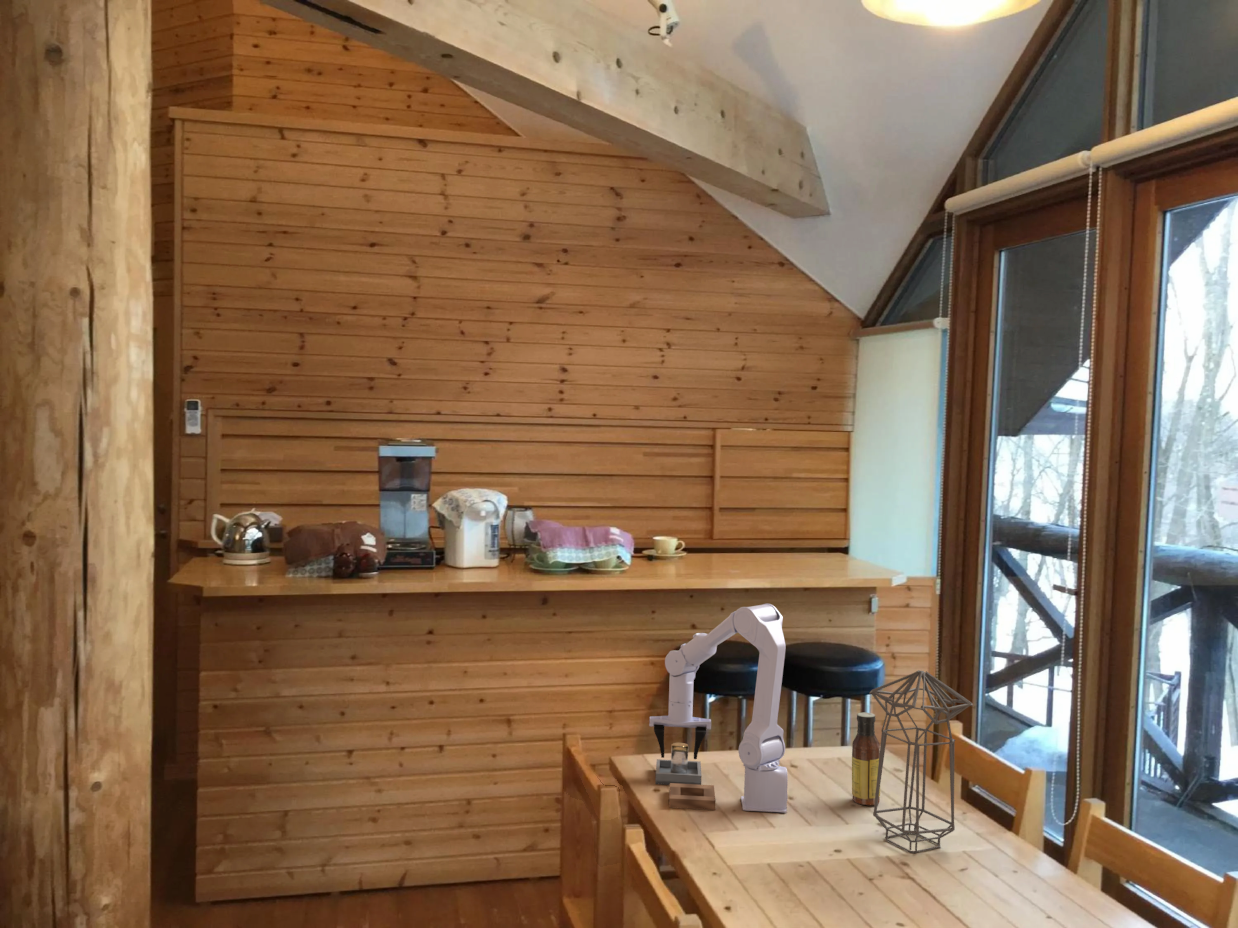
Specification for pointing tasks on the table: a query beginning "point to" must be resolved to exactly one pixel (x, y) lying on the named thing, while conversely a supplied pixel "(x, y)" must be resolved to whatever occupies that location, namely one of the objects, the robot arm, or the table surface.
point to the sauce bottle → (865, 761)
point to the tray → (666, 777)
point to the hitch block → (692, 796)
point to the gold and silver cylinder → (679, 758)
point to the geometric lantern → (917, 750)
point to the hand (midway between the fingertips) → (678, 757)
